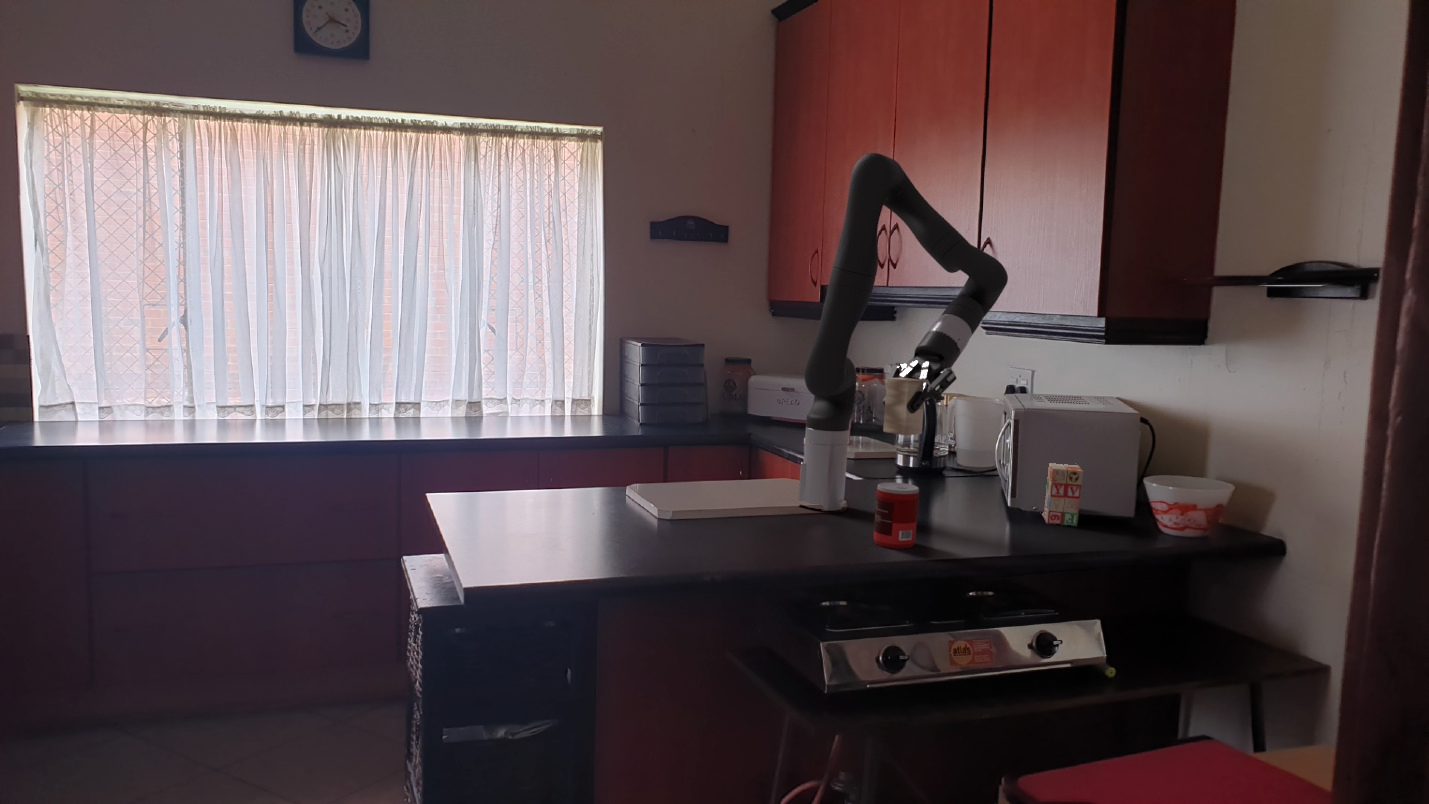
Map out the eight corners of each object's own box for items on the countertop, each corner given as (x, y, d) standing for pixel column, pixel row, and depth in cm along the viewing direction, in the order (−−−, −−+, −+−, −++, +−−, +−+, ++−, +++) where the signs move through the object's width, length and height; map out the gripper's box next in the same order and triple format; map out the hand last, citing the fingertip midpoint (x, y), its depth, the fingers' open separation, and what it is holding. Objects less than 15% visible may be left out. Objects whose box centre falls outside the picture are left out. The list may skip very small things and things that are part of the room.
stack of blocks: (1033, 504, 232) (1038, 452, 231) (1061, 506, 231) (1066, 454, 230) (1047, 524, 211) (1052, 467, 210) (1077, 527, 210) (1083, 469, 209)
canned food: (919, 542, 189) (923, 485, 187) (908, 551, 181) (913, 492, 180) (879, 536, 192) (884, 480, 191) (868, 545, 185) (872, 486, 183)
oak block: (883, 431, 185) (887, 378, 184) (900, 430, 188) (904, 377, 187) (904, 435, 181) (908, 380, 180) (921, 434, 184) (925, 380, 183)
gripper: (906, 326, 192) (859, 390, 186) (967, 331, 182) (920, 399, 175) (921, 354, 196) (876, 417, 190) (982, 360, 185) (937, 427, 179)
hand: (898, 408), depth 183 cm, fingers closed on oak block, 5 cm apart
